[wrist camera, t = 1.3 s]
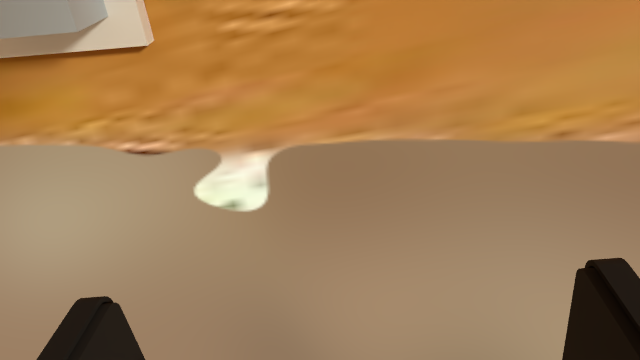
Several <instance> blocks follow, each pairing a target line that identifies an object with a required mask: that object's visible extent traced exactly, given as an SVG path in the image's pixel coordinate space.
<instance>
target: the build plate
mask: <svg viewBox="0 0 640 360" xmlns="http://www.w3.org/2000/svg"><path fill="white" fill-rule="evenodd" d="M153 41H154V38H153V34H152V31H151V27H150V23H149V19H148V16H147V12H146V8H145V4H144V0H0V58H8V57H20V56H32V55H43V54H55V53H67V52H78V51H90V50H102V49H113V48H125V47H137V46H148V45H149V44H151V43H152V42H153Z"/></svg>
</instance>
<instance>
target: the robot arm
mask: <svg viewBox="0 0 640 360" xmlns="http://www.w3.org/2000/svg"><path fill="white" fill-rule="evenodd" d="M37 360H145V358H144V356H143V354H142V352H141V350H140V348H139V345H138V343H137V341H136V339H135V337H134V335H133V333H132V330H131V328H130V326H129V324H128V322H127V320H126V318H125V316H124V314H123V311H122V309H121V307H120V305H119V304H117V303H113V301H112V300H111V298H109V297H105V296H104V297H91V298H80V299H79V300H77V301H76V302H75V303H74V305H73V306H72V307H71V309H70V310H69V312H68V313H67V315H66V316H65V318H64V319H63V321H62V322H61V324H60V325H59V327H58V329H57V330H56V331H55V333H54V334H53V336H52V338H51V339H50V340H49V342H48V344H47V345H46V346H45V348H44V349H43V351H42V352H41V354H40V355H39V357H38V358H37ZM562 360H640V278H639V277H638V276H637V274H636V273H635V272H634V271H633V269H632V268H631V267H630V265H629V264H628V263H627V262H626V261H625V260H624V259H622V258H612V259H599V260H589V261H588V262H587V263H586V265H585V268H582V269H578V270H577V273H576V278H575V284H574V290H573V296H572V303H571V309H570V315H569V321H568V327H567V334H566V340H565V346H564V352H563V359H562Z"/></svg>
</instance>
